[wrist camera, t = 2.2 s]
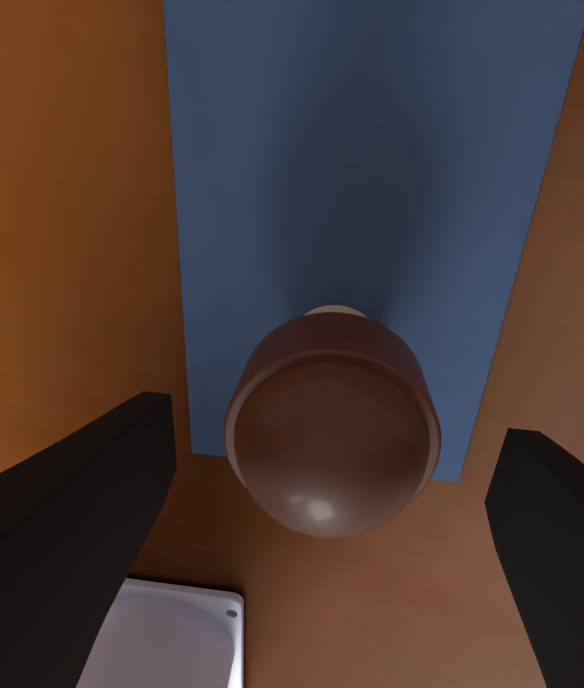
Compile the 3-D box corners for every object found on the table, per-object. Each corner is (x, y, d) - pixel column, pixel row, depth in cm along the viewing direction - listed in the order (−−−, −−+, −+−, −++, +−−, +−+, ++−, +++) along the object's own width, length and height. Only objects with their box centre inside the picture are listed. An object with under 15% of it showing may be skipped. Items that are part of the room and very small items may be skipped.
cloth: (456, 475, 16) (458, 483, 16) (194, 447, 17) (191, 453, 17) (693, -399, 8) (710, -426, 7) (145, -379, 8) (136, -402, 8)
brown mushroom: (397, 416, 15) (433, 607, 9) (259, 403, 15) (205, 577, 9) (422, 282, 13) (491, 412, 7) (262, 270, 13) (193, 382, 7)
